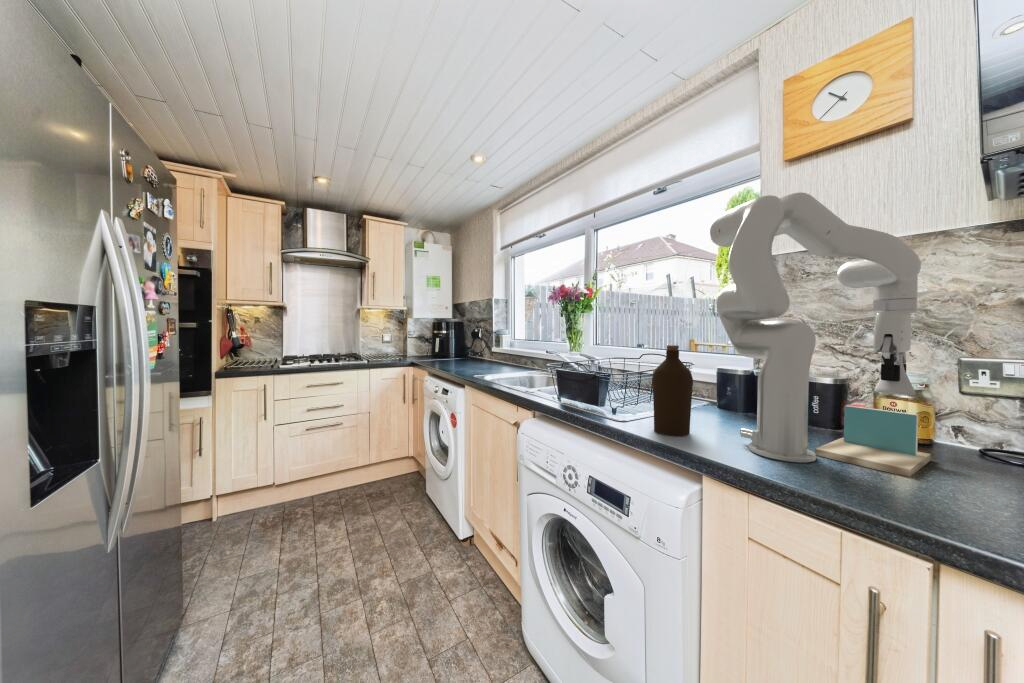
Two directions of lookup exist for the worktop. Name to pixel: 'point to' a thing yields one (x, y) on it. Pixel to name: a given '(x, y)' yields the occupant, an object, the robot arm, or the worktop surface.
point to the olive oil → (672, 395)
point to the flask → (896, 382)
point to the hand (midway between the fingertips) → (893, 379)
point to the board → (874, 457)
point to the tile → (881, 429)
